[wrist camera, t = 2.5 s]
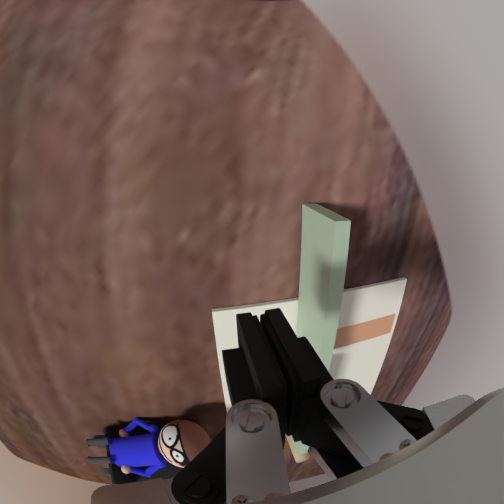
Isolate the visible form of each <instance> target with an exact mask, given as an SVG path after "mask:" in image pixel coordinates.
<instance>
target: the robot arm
mask: <svg viewBox="0 0 504 504" xmlns="http://www.w3.org/2000/svg"><path fill="white" fill-rule="evenodd" d="M236 323H237V335H238V348H233V349H226V350H222V356H223V364H224V370H225V376H226V382H227V387H228V391H229V396H230V401H231V405H232V407H231V408H230V409H229V411H228V412H227V415H226V427H225V428H224V429H223V430H222V431H221V432H220V433H219V434H218V435H217V436H216V437H215V438H214V439H213V440H212V441H211V442H210V443H209V444H208V445H207V446H206V447H205V448H204V449H203V450H202V451H201V452H200V453H199V454H198V455H197V456H196V457H195V458H194V459H193V460H192V461H191V462H190V463H188V464H187V465H186V466H185V467H184V468H183V469H182V470H181V471H180V472H179V473H177V475H176V476H175V477H173V478H169V479H164V480H162V478H157V479H152V480H146V481H140V482H133V483H126V484H118V485H107V486H102V487H99V488H98V489H97V490H95V491H94V492H93V494H92V496H91V504H504V388H502V389H499V390H496V391H493V392H491V393H489V394H487V395H485V396H483V397H482V398H480V399H478V400H477V401H475V400H474V399H473V398H472V397H470V396H468V395H459V396H457V397H454V398H451V399H448V400H446V401H442V402H439V403H436V404H433V405H430V406H427V407H424V408H423V410H422V411H421V410H417V409H414V408H408V407H404V406H399V405H395V404H390V403H386V402H381V401H377V400H375V399H374V398H373V397H372V396H371V395H370V394H369V393H368V392H367V391H366V390H365V389H364V388H363V387H362V386H361V385H360V384H358V383H357V382H355V381H352V380H349V379H336V380H334V379H333V378H332V376H331V375H330V373H329V372H328V370H327V368H326V367H325V365H324V364H323V362H322V361H321V359H320V358H319V356H318V355H317V353H316V351H315V350H314V348H313V347H312V345H311V344H310V342H309V341H308V339H307V338H306V337H304V336H303V337H297V336H296V334H295V332H294V331H293V329H292V327H291V326H290V324H289V322H288V321H287V319H286V317H285V316H284V314H283V312H282V311H281V309H280V308H275V309H269V310H265V314H261V315H260V321H259V319H258V317H257V315H254V316H252V314H251V312H248V313H241V314H236ZM285 434H286V435H287V436H291V435H292V438H293V440H294V442H298V441H301V442H302V444H304V445H307V446H309V449H310V451H311V453H312V454H313V456H314V457H315V459H316V460H317V461H318V463H319V464H320V466H321V467H322V469H323V470H324V471H325V473H326V474H327V476H328V477H329V478H330V480H331V481H330V482H327V483H325V484H322V485H318V486H315V487H312V488H309V489H306V490H303V491H299V492H295V493H290V487H289V481H288V475H287V469H286V463H285V457H284V452H283V449H284V443H285Z"/></svg>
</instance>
